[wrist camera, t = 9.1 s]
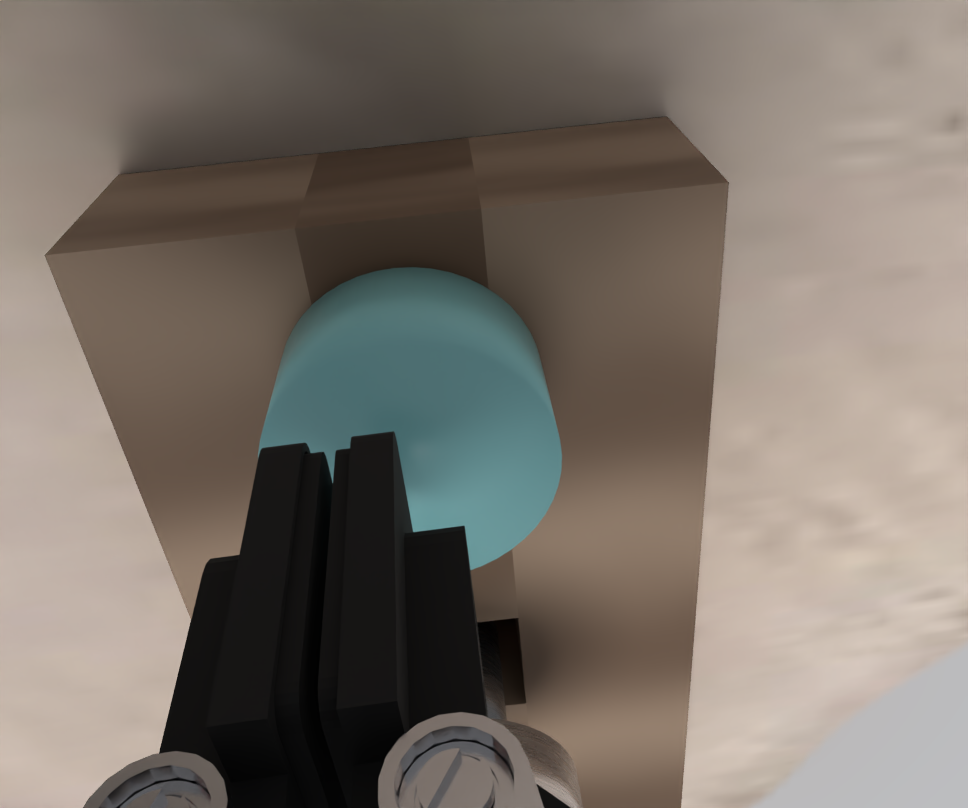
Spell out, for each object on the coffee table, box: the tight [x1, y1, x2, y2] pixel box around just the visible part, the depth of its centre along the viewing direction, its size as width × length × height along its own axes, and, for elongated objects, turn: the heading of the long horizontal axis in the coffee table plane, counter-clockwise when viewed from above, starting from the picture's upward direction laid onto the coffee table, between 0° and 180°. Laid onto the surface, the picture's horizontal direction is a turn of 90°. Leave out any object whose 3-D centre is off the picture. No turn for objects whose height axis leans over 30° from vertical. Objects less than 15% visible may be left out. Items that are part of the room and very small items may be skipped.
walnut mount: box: [45, 117, 729, 808], centre depth 21 cm, size 22×11×4 cm, turn 5°
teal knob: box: [258, 267, 562, 570], centre depth 16 cm, size 5×5×6 cm
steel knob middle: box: [477, 621, 583, 808], centre depth 18 cm, size 5×5×6 cm
